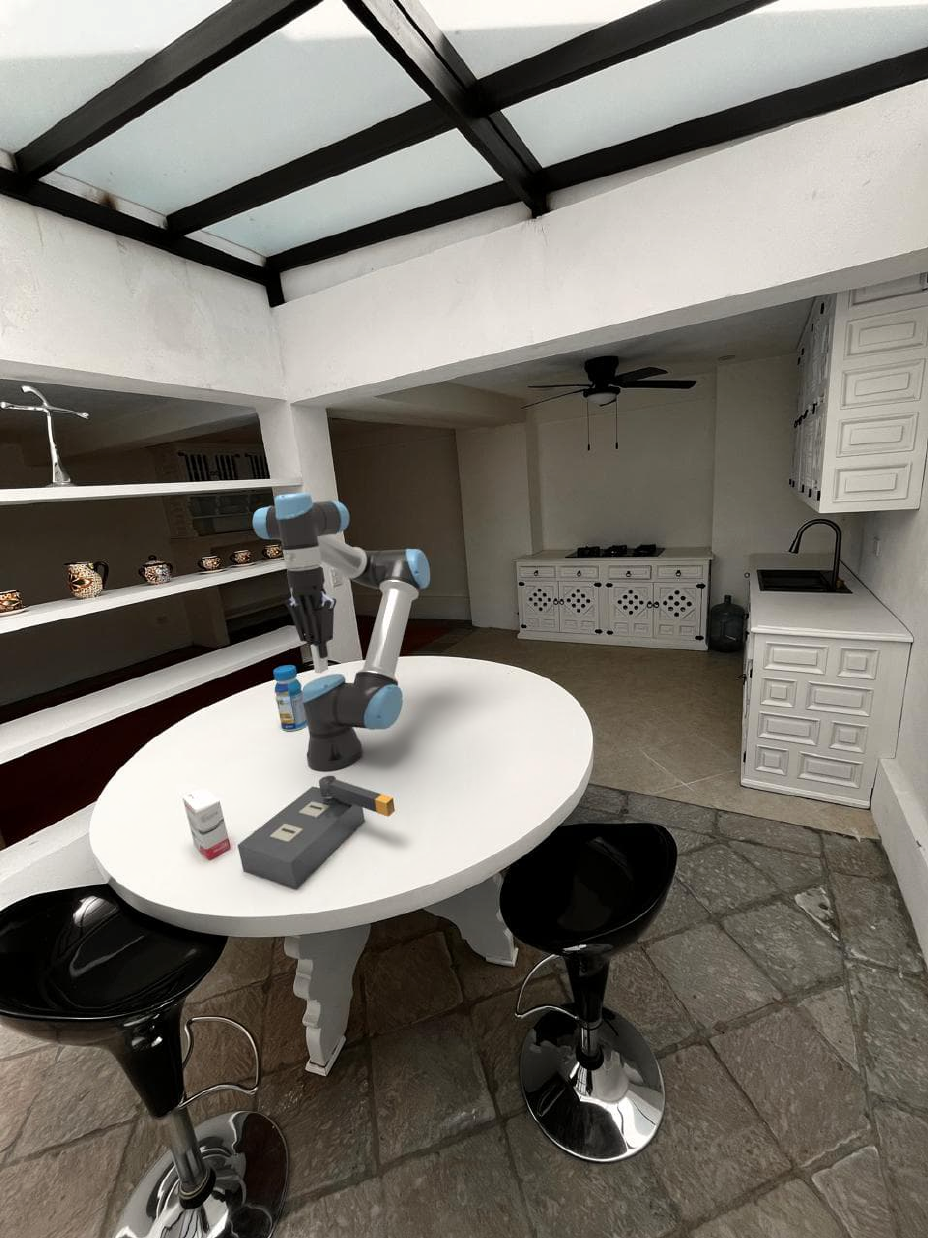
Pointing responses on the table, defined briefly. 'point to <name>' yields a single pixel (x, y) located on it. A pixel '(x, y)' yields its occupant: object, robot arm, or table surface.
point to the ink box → (207, 823)
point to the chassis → (299, 838)
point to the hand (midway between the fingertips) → (321, 671)
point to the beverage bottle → (289, 698)
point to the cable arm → (356, 795)
